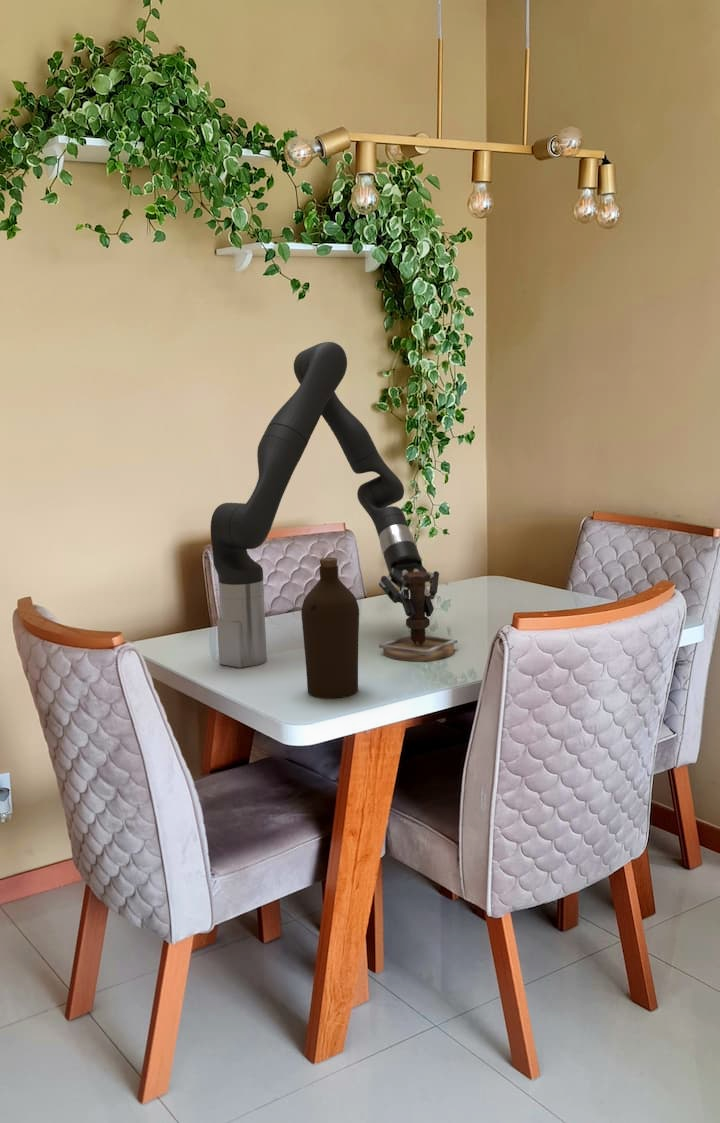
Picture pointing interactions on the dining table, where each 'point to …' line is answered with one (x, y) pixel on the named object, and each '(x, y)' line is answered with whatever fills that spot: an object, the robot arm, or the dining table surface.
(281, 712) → the dining table surface
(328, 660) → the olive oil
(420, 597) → the bolt
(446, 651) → the tray
